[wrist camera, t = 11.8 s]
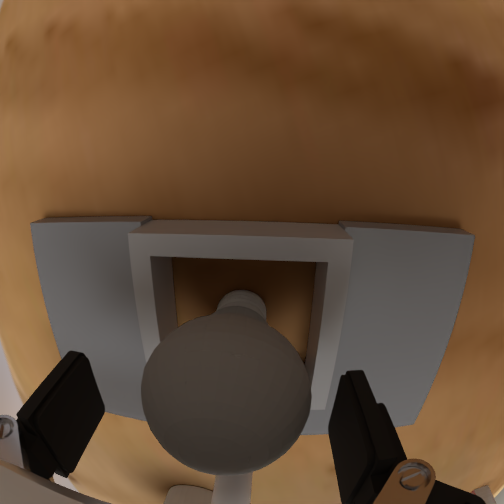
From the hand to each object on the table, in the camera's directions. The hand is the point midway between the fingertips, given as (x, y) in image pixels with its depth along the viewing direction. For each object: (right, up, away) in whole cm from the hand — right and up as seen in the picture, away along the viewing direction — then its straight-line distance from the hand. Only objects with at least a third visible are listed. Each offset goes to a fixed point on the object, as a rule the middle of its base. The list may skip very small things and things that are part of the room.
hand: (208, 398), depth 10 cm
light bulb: (+1, +2, +7) cm, 7 cm away
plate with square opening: (+1, 0, +7) cm, 7 cm away
